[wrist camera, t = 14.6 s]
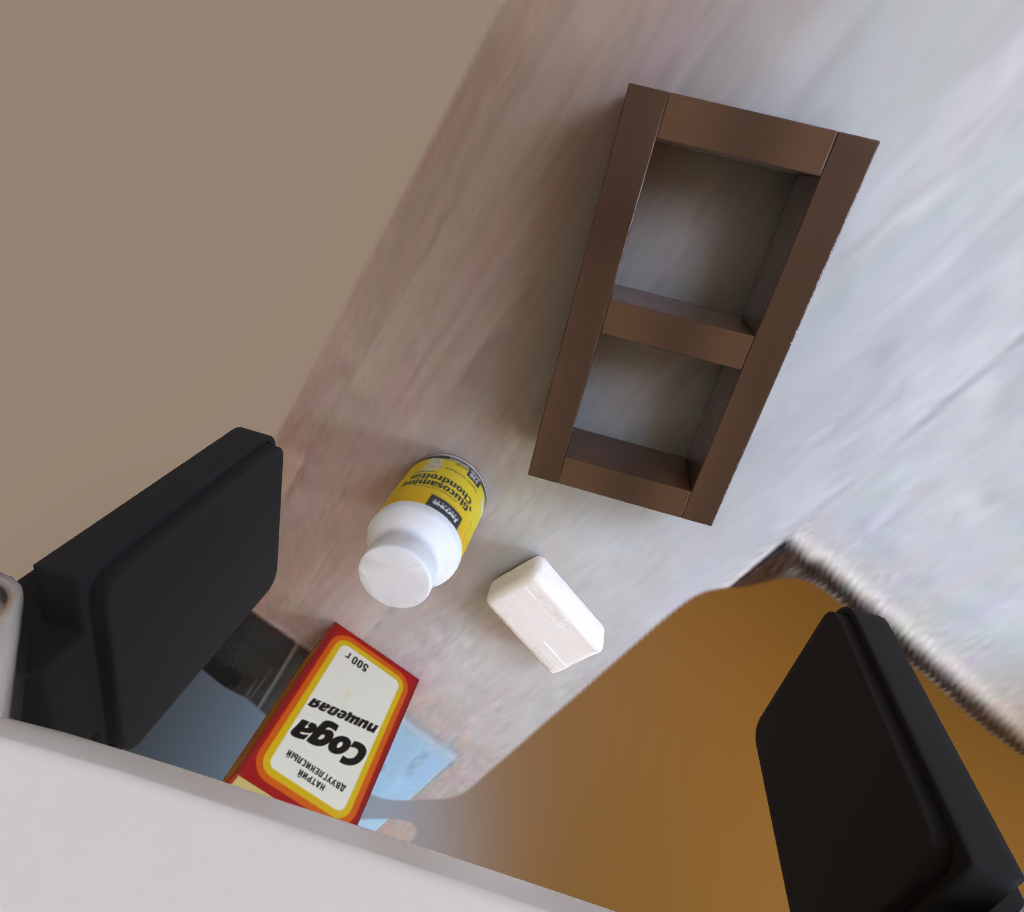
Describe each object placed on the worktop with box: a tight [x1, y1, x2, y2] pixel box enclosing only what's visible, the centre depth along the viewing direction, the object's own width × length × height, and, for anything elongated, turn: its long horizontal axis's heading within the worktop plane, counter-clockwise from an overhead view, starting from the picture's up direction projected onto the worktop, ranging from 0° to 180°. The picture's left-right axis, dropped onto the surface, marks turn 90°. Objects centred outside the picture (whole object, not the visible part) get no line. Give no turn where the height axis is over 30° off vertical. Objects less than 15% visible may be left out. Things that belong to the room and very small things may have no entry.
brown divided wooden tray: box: [528, 83, 880, 526], centre depth 37 cm, size 12×22×5 cm, turn 168°
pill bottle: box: [358, 454, 487, 608], centre depth 42 cm, size 6×6×12 cm
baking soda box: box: [222, 622, 419, 825], centre depth 51 cm, size 10×6×16 cm
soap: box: [487, 556, 604, 673], centre depth 49 cm, size 9×6×3 cm, turn 39°
